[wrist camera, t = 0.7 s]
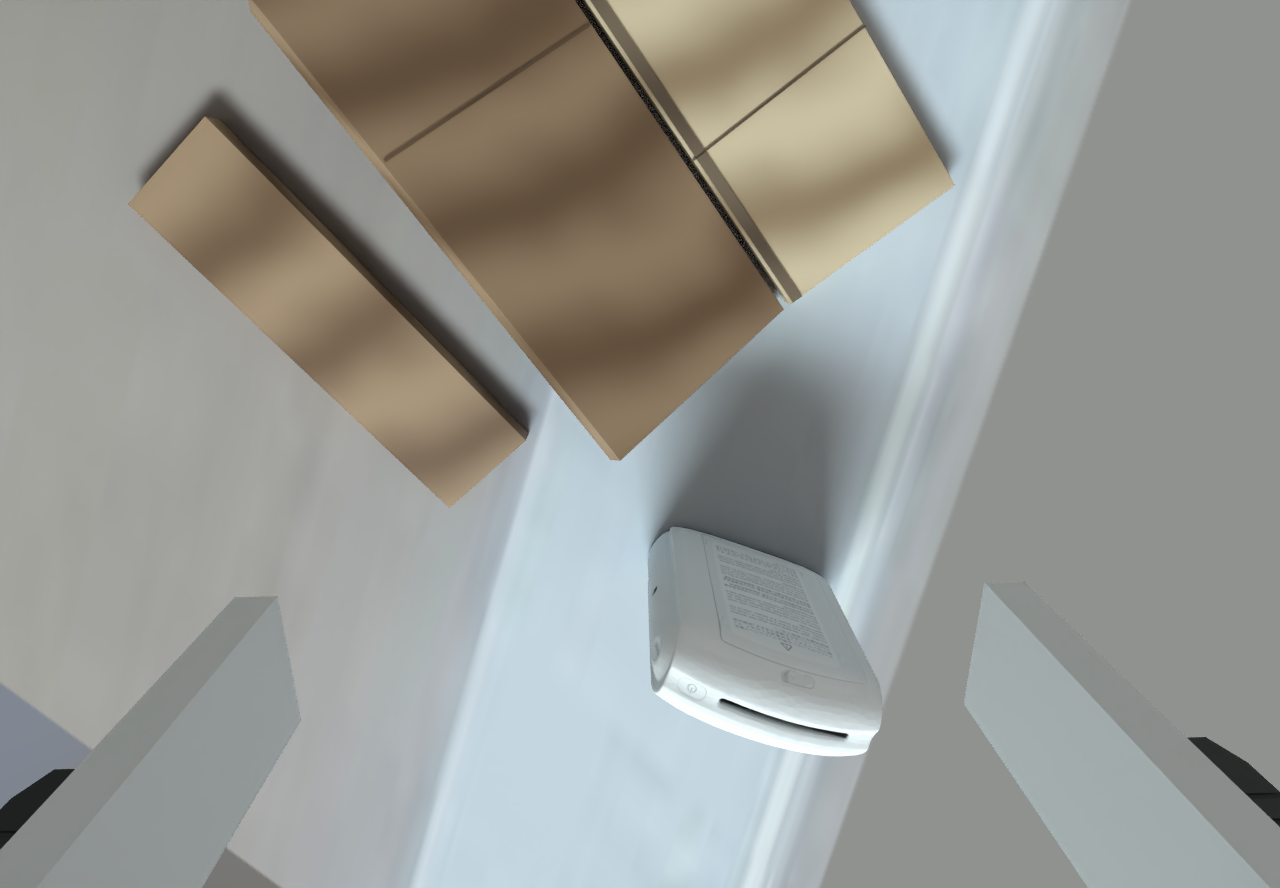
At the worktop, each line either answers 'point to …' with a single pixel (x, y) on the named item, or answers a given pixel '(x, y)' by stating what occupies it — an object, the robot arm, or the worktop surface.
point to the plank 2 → (540, 191)
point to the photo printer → (757, 647)
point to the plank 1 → (326, 310)
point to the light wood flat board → (782, 123)
